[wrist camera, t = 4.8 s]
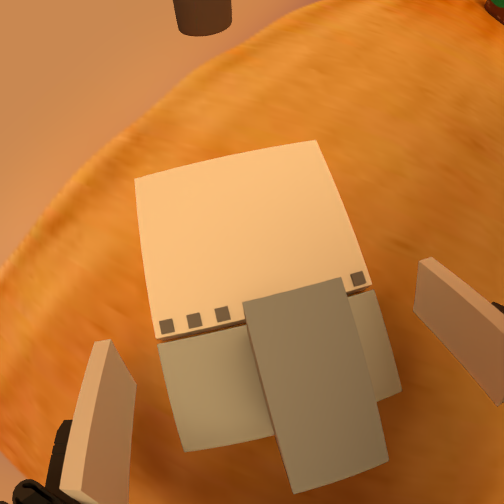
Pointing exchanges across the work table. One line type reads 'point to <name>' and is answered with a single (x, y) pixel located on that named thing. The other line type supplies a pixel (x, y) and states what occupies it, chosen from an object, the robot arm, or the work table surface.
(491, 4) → the food container
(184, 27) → the bottle
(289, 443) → the stub
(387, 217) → the work table surface
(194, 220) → the notepad
